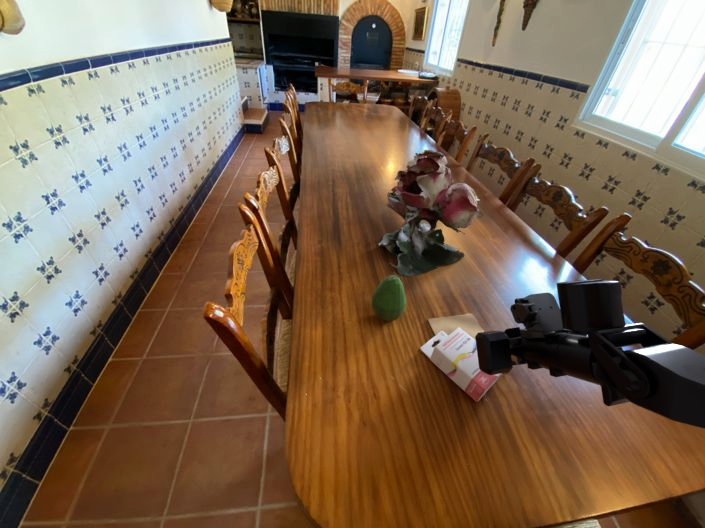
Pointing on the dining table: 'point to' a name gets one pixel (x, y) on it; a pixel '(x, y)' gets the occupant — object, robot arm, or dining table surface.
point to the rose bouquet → (428, 214)
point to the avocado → (389, 298)
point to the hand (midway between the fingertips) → (498, 338)
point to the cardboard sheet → (455, 325)
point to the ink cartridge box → (460, 362)
